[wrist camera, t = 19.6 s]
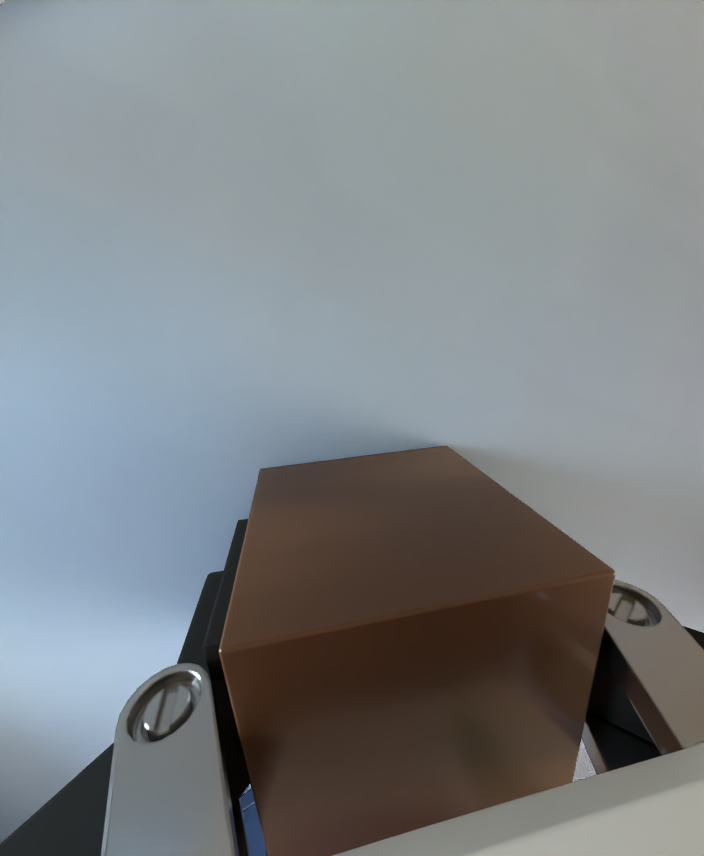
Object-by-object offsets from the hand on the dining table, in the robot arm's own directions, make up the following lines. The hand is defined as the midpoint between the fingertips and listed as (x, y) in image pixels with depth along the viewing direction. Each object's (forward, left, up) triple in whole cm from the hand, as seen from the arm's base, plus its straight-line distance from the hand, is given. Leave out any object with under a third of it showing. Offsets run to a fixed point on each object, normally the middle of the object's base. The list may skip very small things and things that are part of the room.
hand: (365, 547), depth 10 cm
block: (0, 0, 0) cm, 0 cm away
